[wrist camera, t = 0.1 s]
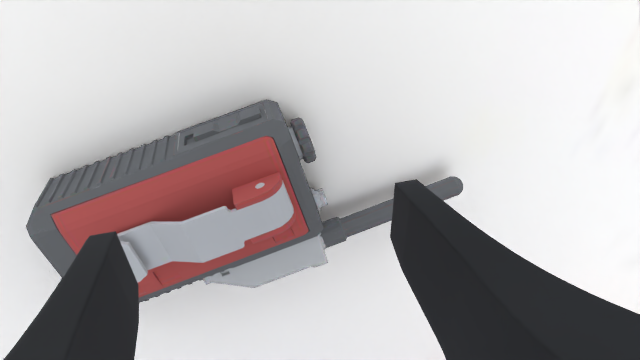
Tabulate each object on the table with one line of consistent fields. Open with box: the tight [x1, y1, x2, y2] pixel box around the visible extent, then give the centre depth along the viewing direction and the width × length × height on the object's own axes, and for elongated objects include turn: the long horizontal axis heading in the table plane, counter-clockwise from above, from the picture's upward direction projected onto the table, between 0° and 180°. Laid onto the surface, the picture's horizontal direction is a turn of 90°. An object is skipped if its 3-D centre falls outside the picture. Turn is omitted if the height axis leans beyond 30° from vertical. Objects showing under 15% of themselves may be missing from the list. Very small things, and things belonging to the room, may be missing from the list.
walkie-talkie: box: [26, 100, 463, 302], centre depth 22 cm, size 9×4×20 cm
